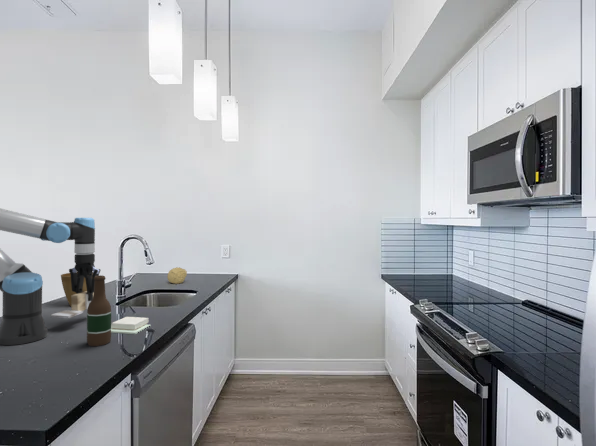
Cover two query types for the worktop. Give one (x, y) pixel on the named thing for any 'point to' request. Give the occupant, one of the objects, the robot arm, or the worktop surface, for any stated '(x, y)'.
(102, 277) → the beer bottle
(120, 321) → the tile
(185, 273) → the beige lumpy ball
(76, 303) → the turner
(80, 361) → the worktop surface
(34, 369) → the worktop surface
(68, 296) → the plant pot
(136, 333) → the mat
